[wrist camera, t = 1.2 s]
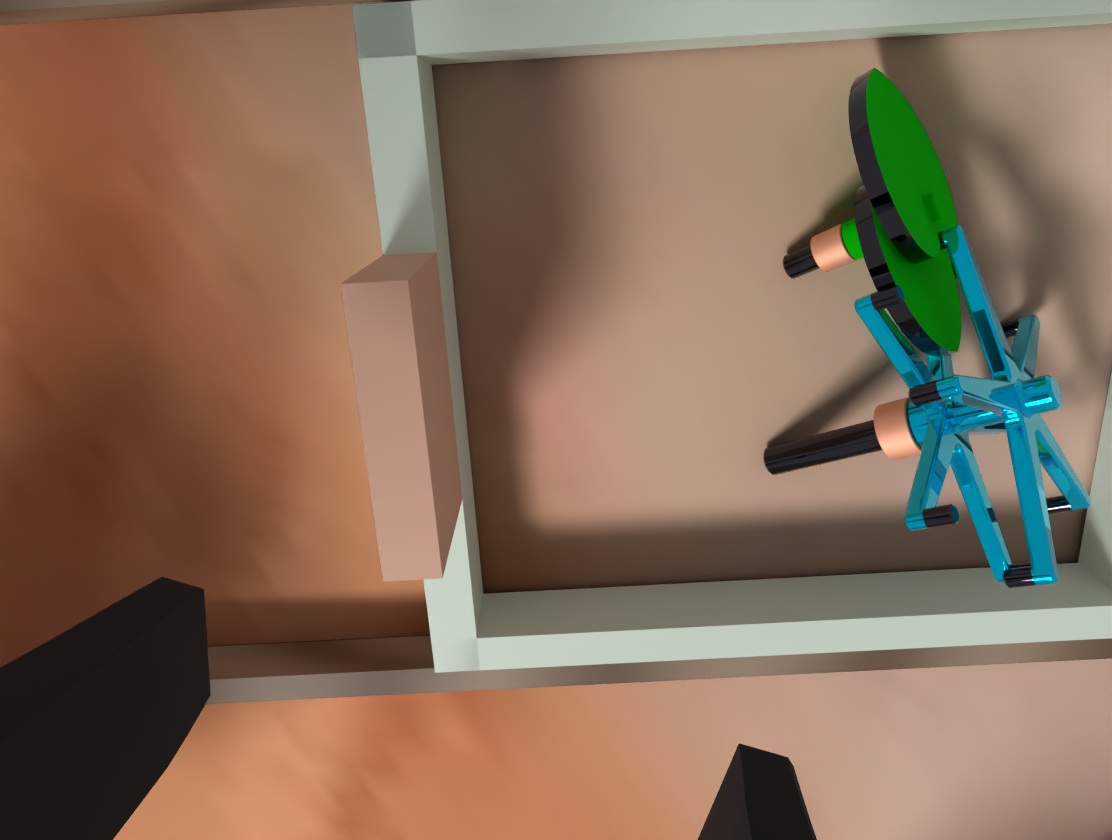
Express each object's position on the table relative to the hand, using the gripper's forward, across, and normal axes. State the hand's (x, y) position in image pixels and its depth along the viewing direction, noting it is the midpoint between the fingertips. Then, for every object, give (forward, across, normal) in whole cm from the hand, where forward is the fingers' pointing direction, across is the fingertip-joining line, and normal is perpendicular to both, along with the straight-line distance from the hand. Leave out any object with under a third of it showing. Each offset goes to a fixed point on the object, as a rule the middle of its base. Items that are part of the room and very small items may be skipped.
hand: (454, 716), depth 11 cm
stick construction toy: (+14, -6, -2) cm, 15 cm away
